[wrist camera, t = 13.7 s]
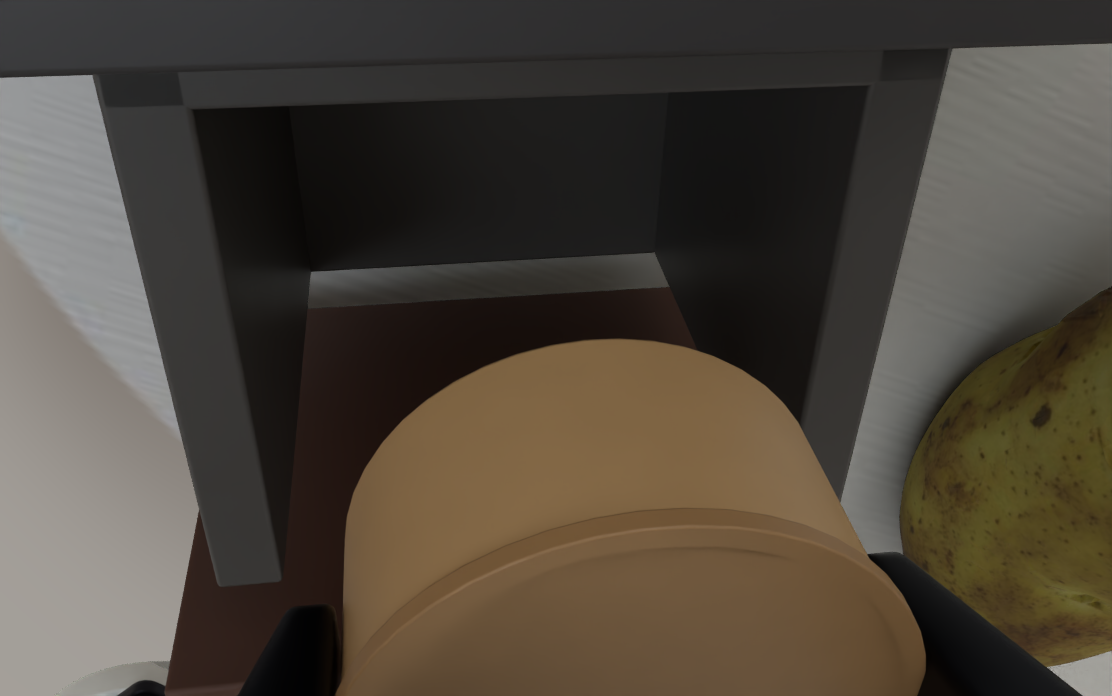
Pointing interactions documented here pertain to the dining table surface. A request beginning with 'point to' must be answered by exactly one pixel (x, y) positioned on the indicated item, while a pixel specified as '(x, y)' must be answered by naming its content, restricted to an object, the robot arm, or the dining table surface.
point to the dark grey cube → (503, 31)
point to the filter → (612, 542)
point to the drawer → (484, 236)
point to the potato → (1025, 489)
